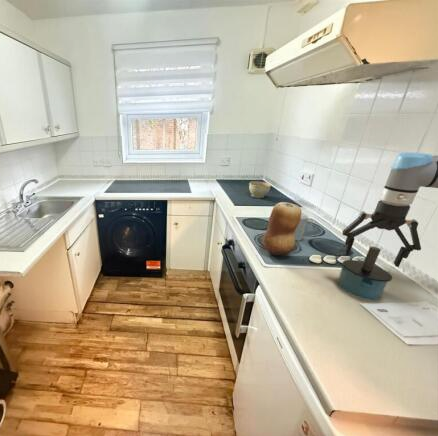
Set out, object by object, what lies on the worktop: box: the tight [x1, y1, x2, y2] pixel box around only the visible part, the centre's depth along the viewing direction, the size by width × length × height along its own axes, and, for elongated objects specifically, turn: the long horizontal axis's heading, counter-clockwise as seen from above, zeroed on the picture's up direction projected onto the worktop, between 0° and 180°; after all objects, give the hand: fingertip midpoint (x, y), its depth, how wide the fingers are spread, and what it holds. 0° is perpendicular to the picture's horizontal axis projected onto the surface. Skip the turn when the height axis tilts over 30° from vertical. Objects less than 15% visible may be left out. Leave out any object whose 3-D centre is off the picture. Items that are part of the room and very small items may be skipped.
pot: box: [337, 259, 389, 300], centre depth 88 cm, size 13×18×8 cm
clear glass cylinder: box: [294, 212, 310, 241], centre depth 128 cm, size 10×10×12 cm
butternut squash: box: [262, 201, 303, 256], centre depth 109 cm, size 14×13×25 cm
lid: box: [342, 246, 393, 283], centre depth 84 cm, size 14×14×10 cm
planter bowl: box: [248, 181, 272, 199], centre depth 194 cm, size 16×16×11 cm
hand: (370, 258), depth 85 cm, fingers open, 13 cm apart
